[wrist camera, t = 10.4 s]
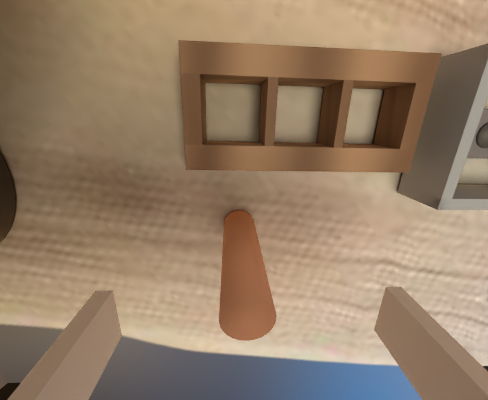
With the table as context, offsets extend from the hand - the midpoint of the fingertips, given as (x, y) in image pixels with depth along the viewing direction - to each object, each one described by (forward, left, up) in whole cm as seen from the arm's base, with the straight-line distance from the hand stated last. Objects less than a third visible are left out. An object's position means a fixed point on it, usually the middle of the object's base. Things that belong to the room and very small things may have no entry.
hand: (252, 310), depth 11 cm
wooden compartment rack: (+4, +9, -9) cm, 14 cm away
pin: (0, 0, -9) cm, 9 cm away
